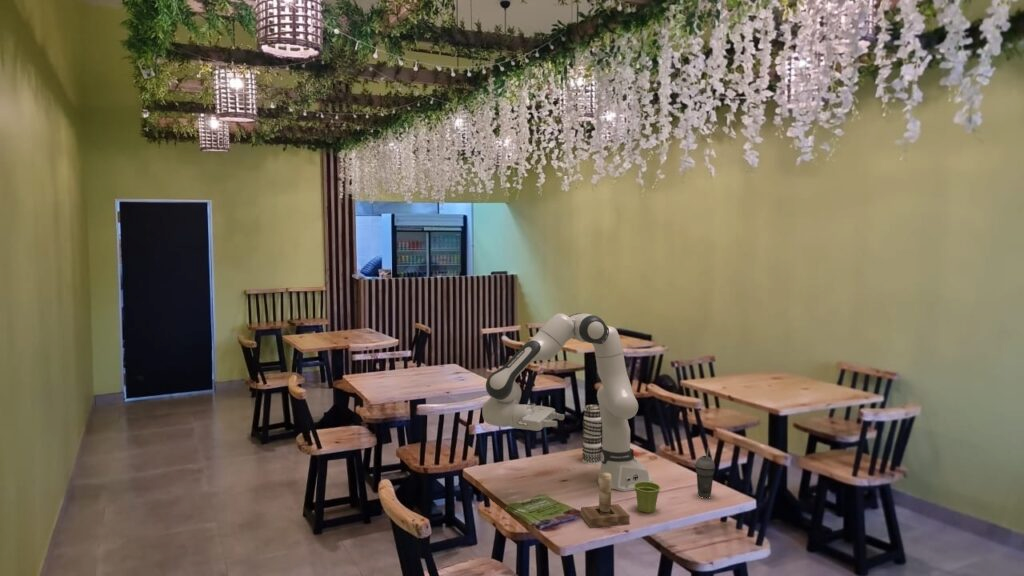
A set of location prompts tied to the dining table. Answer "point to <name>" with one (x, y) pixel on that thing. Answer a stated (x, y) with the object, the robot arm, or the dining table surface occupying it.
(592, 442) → the decorative candle
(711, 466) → the beverage cup
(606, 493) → the peg
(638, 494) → the plant pot
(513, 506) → the dining table surface
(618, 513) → the brown wooden frame
